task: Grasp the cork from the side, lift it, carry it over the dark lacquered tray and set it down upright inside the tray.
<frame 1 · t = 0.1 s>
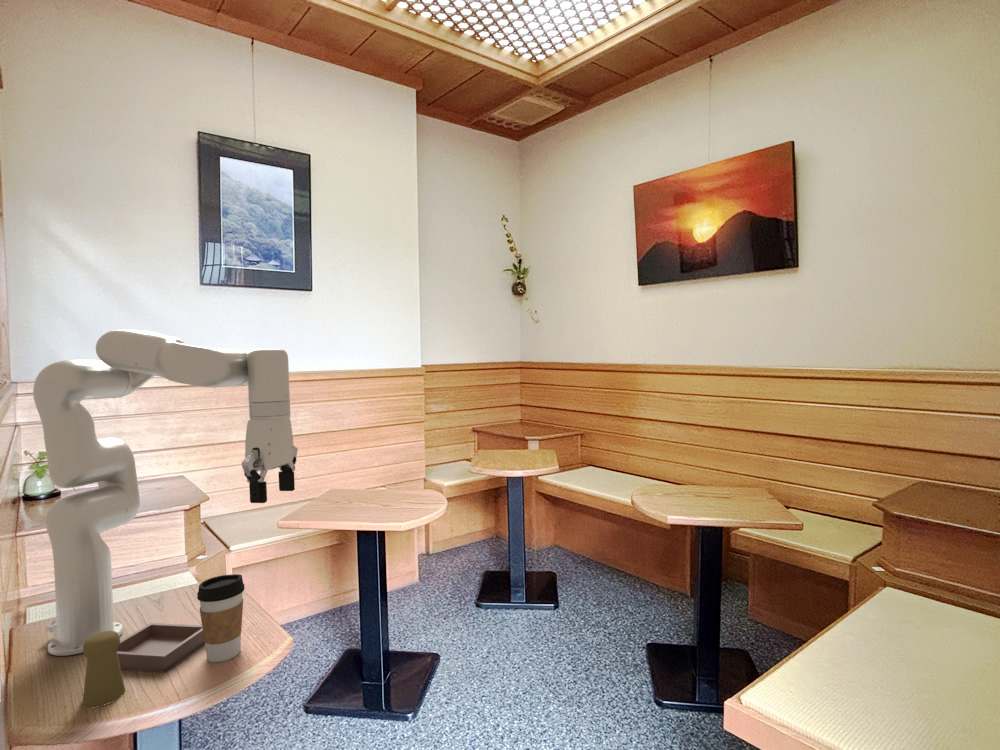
hand: (273, 496, 105), 31 cm above the table, tool pointing down, fingers open, 9 cm apart
lacquer tray: (158, 653, 106), on the table
coffee cup: (223, 655, 105), on the table
cork: (104, 698, 92), on the table
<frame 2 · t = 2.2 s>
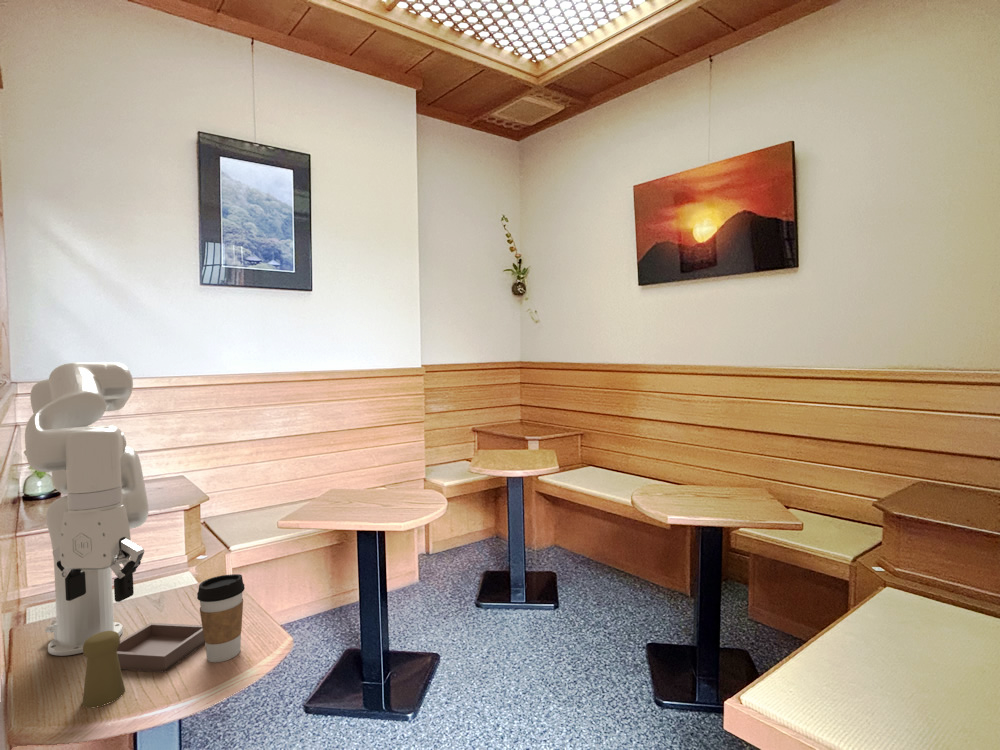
hand: (100, 598, 92), 18 cm above the table, tool pointing down, fingers open, 9 cm apart
nothing on the table moved.
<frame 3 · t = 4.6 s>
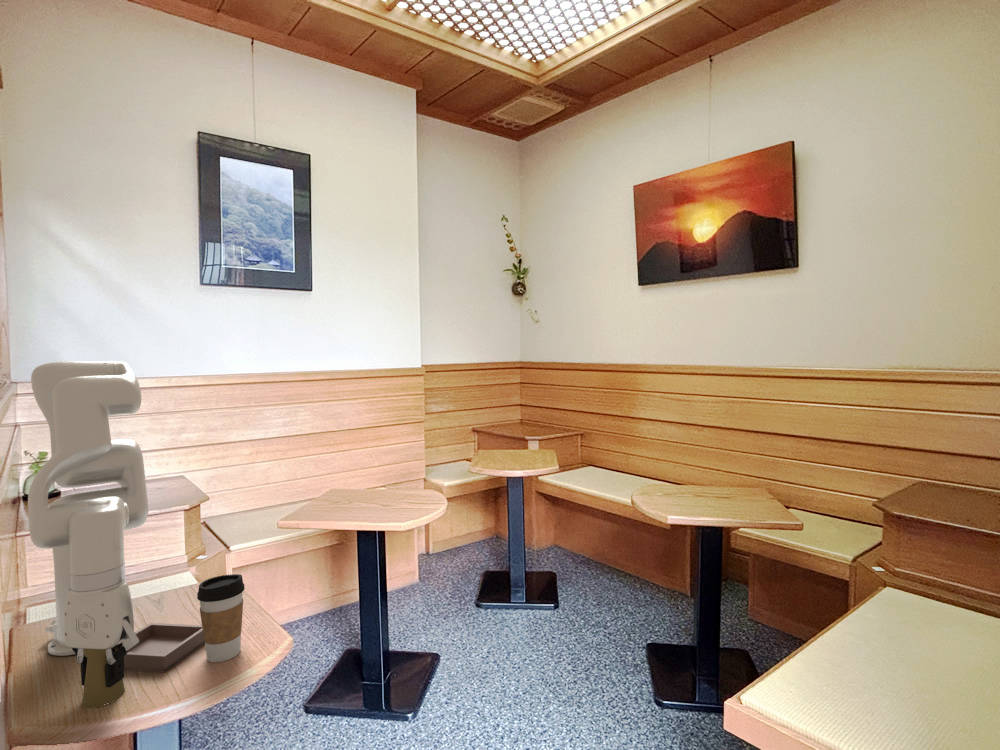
hand: (103, 680, 92), 3 cm above the table, tool pointing down, fingers closed on cork, 4 cm apart
cork: (104, 698, 92), on the table, touching gripper
everything else where it was.
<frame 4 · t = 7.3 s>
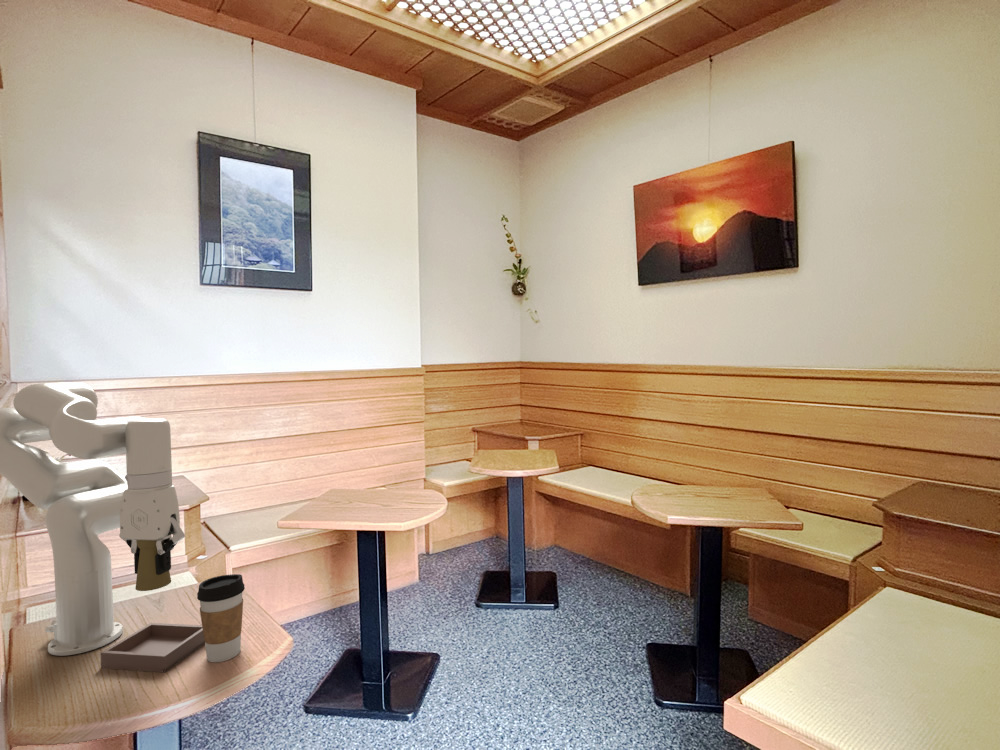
hand: (153, 570, 106), 17 cm above the table, tool pointing down, fingers closed on cork, 4 cm apart
cork: (153, 585, 106), point 14 cm above the table, touching gripper
everything else where it was.
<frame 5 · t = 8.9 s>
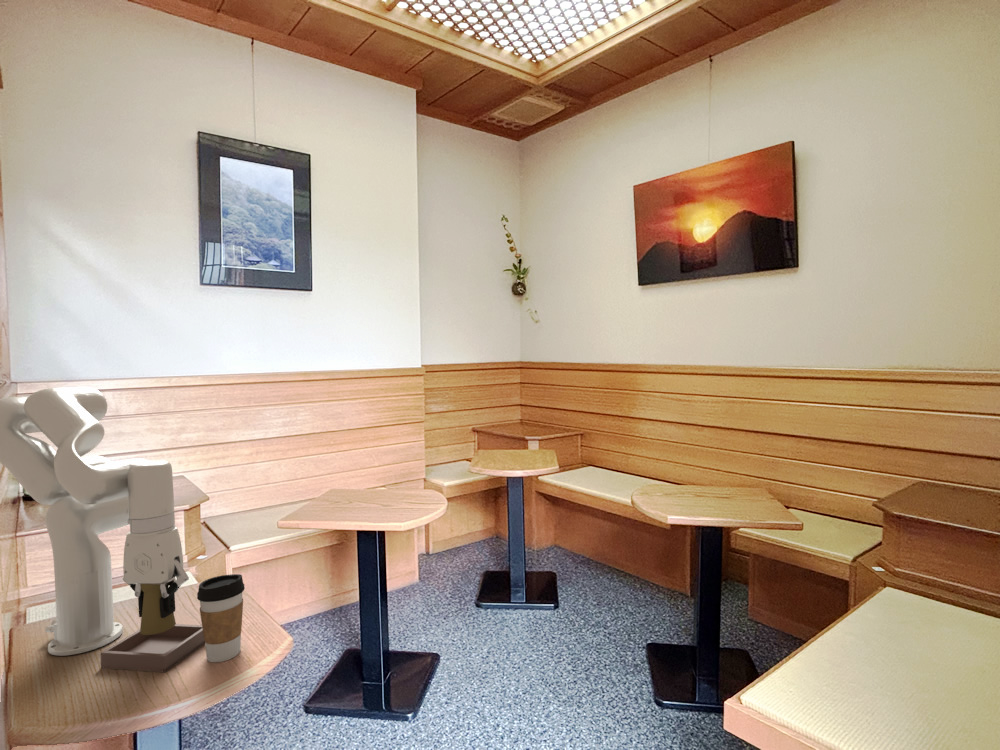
hand: (157, 613, 106), 8 cm above the table, tool pointing down, fingers closed on cork, 4 cm apart
cork: (158, 628, 106), point 5 cm above the table, touching gripper
everything else where it was.
when the fingers open (5 cm above the table, at t = 10.4 s): cork drops 1 cm, resting on lacquer tray.
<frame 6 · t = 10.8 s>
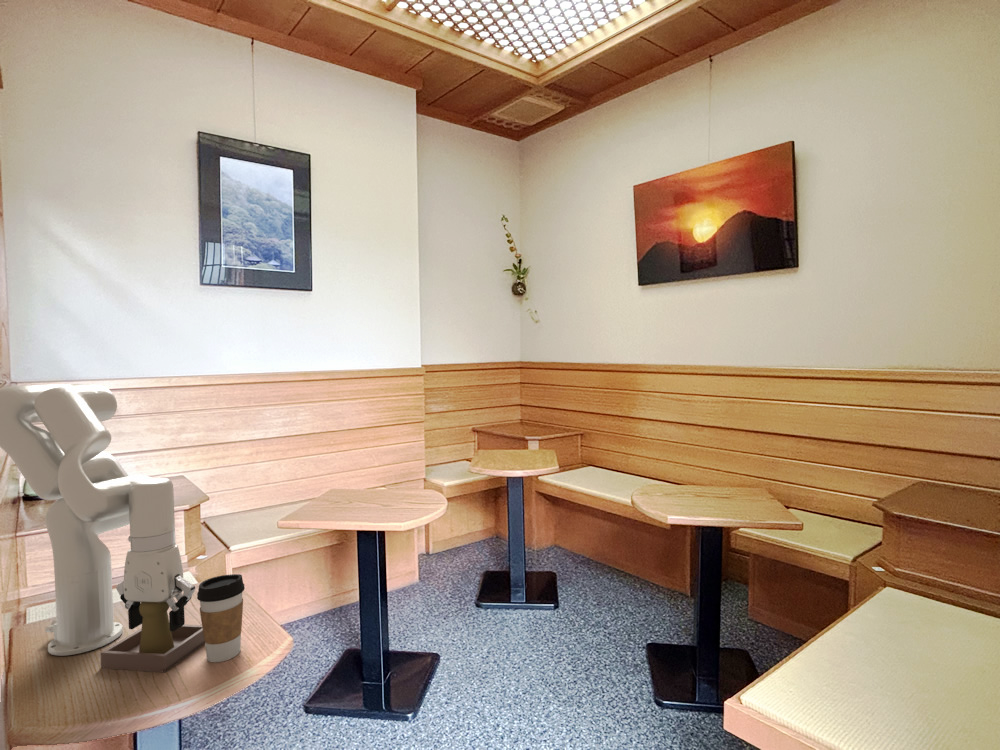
hand: (157, 626, 106), 6 cm above the table, tool pointing down, fingers open, 8 cm apart
cork: (156, 652, 106), resting on lacquer tray
everything else where it was.
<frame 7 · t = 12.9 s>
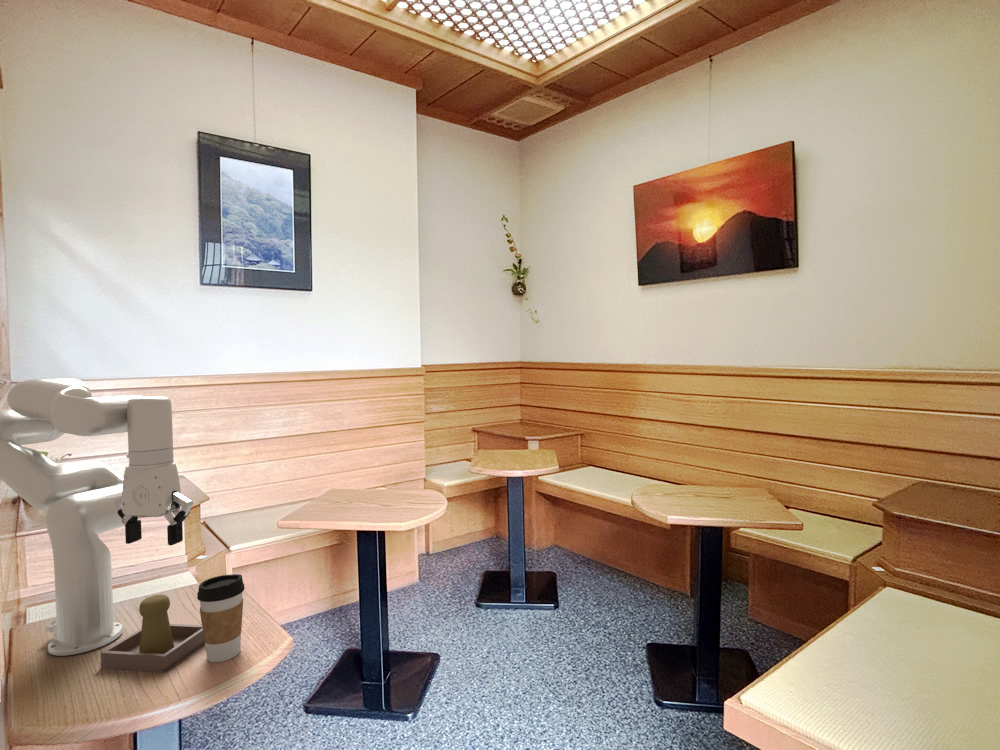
hand: (154, 542, 106), 22 cm above the table, tool pointing down, fingers open, 9 cm apart
nothing on the table moved.
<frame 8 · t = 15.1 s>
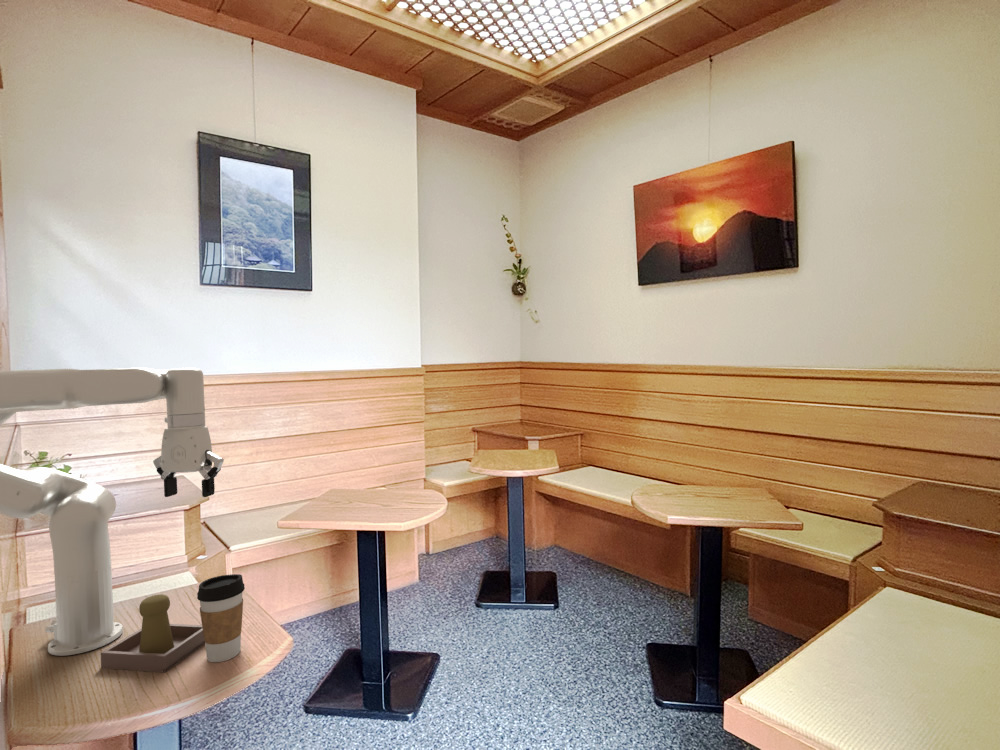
hand: (189, 495, 122), 28 cm above the table, tool pointing down, fingers open, 9 cm apart
nothing on the table moved.
at the end: cork inside the target area on the lacquer tray (0.5 cm from its centre), point 0.4 cm above the lacquer tray's base; cork tilted 0°; the gripper is holding nothing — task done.
